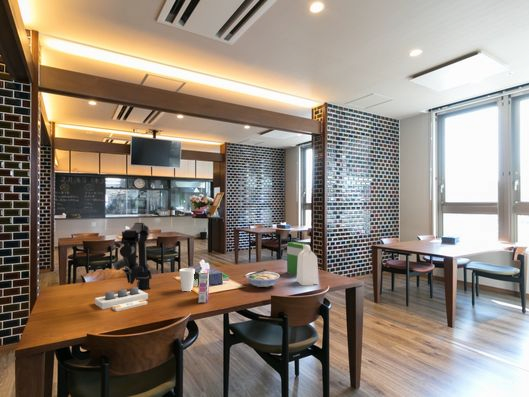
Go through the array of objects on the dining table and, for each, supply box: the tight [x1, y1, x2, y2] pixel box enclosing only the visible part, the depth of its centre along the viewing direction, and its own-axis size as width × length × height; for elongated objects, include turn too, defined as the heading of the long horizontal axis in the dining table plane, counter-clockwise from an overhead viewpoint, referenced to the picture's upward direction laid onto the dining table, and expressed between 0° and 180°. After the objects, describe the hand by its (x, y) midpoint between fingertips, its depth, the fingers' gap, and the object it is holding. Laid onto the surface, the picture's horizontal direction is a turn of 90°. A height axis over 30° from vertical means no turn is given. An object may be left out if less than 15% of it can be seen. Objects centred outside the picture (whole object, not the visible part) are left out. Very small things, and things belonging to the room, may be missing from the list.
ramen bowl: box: [243, 268, 281, 288], centre depth 201 cm, size 25×23×8 cm
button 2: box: [129, 286, 138, 295], centre depth 173 cm, size 4×4×4 cm
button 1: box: [104, 291, 115, 300], centre depth 164 cm, size 4×4×4 cm
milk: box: [296, 244, 319, 286], centre depth 211 cm, size 12×12×26 cm
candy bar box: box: [197, 268, 210, 304], centre depth 172 cm, size 11×5×16 cm, turn 5°
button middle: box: [117, 288, 128, 298], centre depth 168 cm, size 4×4×4 cm
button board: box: [94, 290, 149, 310], centre depth 168 cm, size 24×12×3 cm, turn 135°
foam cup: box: [179, 267, 196, 292], centre depth 190 cm, size 10×9×13 cm
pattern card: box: [111, 299, 148, 312], centre depth 161 cm, size 16×6×1 cm, turn 135°
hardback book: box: [286, 241, 310, 276], centre depth 238 cm, size 18×7×24 cm, turn 35°
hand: (130, 283), depth 161 cm, fingers open, 3 cm apart
